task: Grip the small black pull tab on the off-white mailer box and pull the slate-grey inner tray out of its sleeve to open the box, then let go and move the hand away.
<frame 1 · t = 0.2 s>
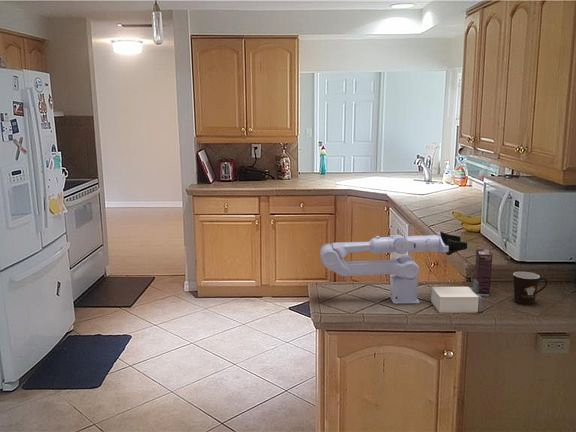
hand: (463, 242, 193), 21 cm above the counter, tool horizontal, fingers open, 7 cm apart
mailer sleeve: (453, 306, 190), on the counter
coffee mug: (528, 303, 195), on the counter
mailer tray: (457, 293, 190), point 5 cm above the counter, slide at 0.0 cm
supplement box: (481, 293, 205), on the counter
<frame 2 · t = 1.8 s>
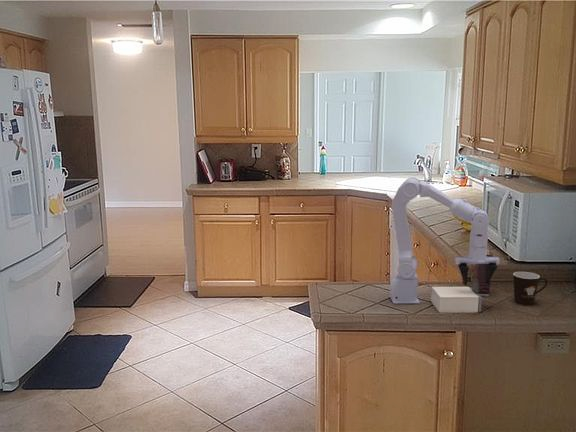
hand: (475, 283, 189), 8 cm above the counter, tool pointing down, fingers open, 7 cm apart
nothing on the counter moved.
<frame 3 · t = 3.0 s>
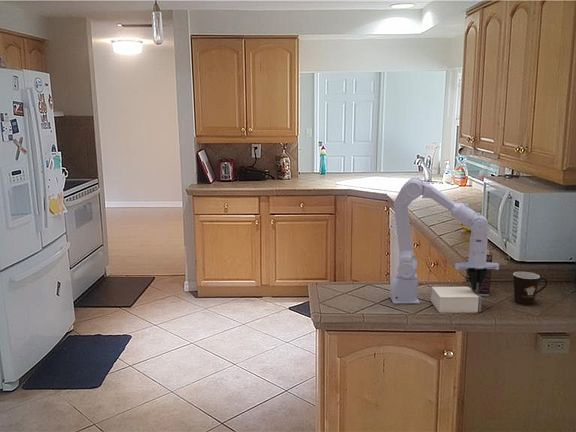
hand: (475, 289, 189), 6 cm above the counter, tool pointing down, fingers closed, pressing on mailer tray
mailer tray: (457, 293, 190), point 5 cm above the counter, slide at 0.0 cm, touching gripper
everything else where it was.
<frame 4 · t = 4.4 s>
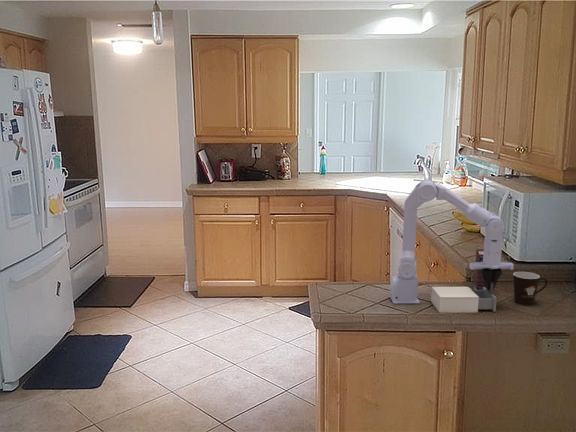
hand: (489, 289, 189), 6 cm above the counter, tool pointing down, fingers closed, pressing on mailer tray
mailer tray: (471, 293, 190), point 5 cm above the counter, slide at 5.0 cm, touching gripper
everything else where it was.
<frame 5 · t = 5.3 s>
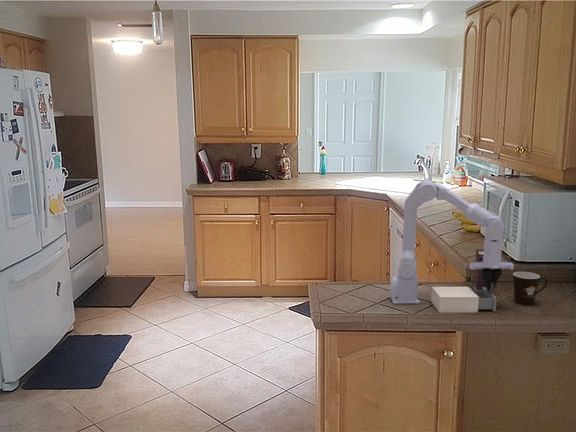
hand: (489, 289, 189), 6 cm above the counter, tool pointing down, fingers closed, pressing on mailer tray
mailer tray: (471, 293, 190), point 5 cm above the counter, slide at 5.0 cm, touching gripper
everything else where it was.
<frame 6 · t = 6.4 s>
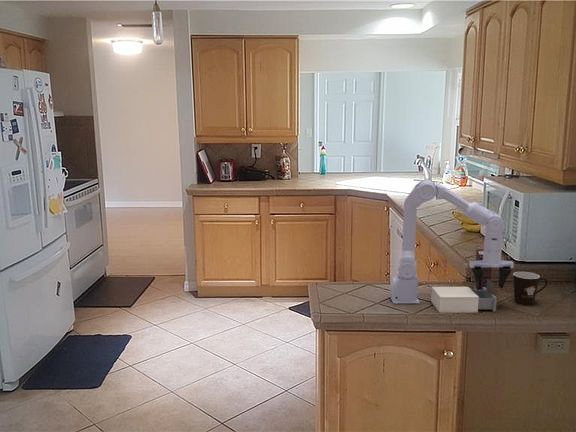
hand: (489, 287, 189), 7 cm above the counter, tool pointing down, fingers open, 7 cm apart
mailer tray: (471, 293, 190), point 5 cm above the counter, slide at 5.0 cm
everything else where it was.
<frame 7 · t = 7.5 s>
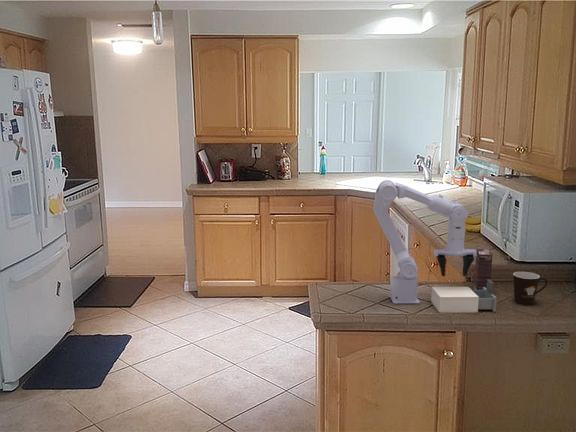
hand: (453, 275, 194), 10 cm above the counter, tool pointing down, fingers open, 7 cm apart
nothing on the counter moved.
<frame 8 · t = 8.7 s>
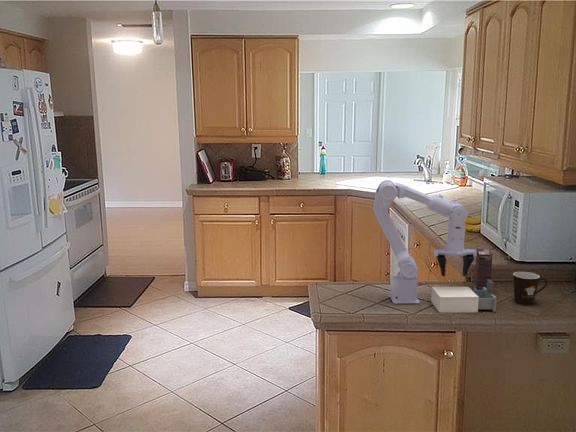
hand: (453, 275, 194), 10 cm above the counter, tool pointing down, fingers open, 7 cm apart
nothing on the counter moved.
at the end: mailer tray slide at 5.0 cm; the gripper is holding nothing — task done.
